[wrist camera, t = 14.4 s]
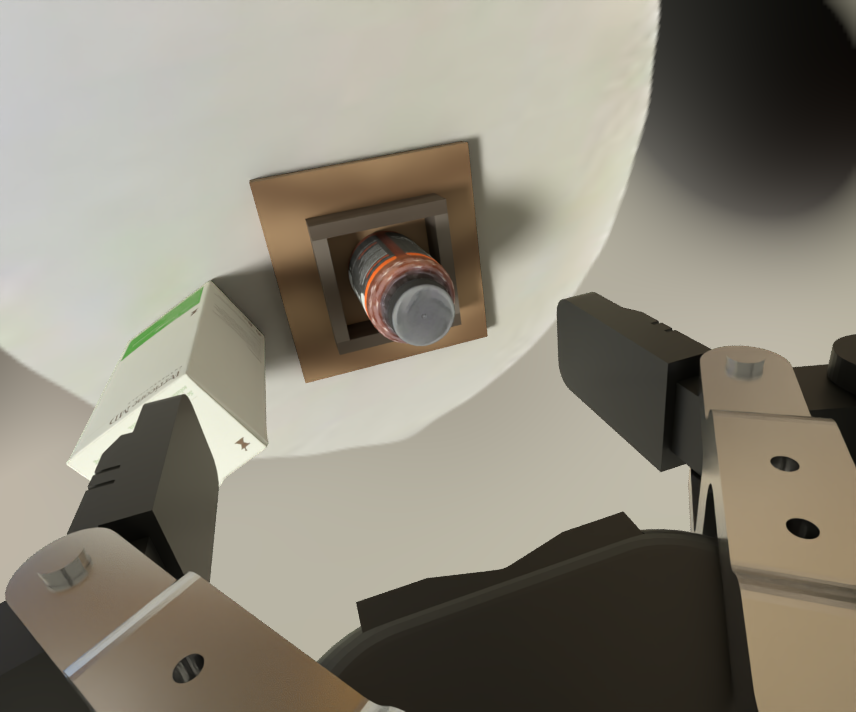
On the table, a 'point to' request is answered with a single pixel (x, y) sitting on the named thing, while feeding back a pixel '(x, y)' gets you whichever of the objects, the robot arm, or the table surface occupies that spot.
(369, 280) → the supplement bottle
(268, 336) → the table surface
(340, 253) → the cup holder
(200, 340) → the skincare box
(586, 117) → the table surface
